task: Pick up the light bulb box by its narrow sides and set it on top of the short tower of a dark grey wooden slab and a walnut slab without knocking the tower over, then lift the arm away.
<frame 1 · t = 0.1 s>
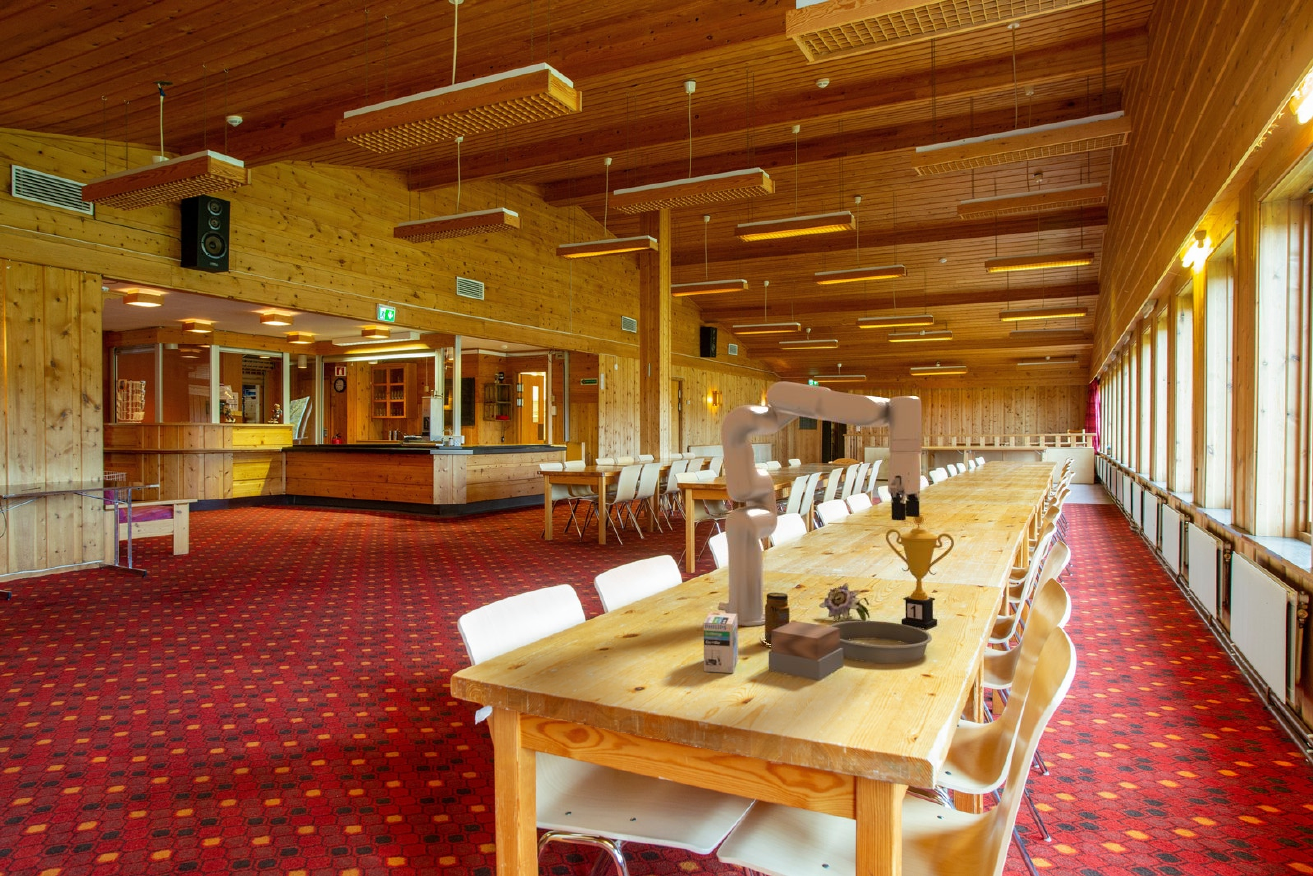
hand: (905, 518, 180), 31 cm above the table, tool pointing down, fingers open, 9 cm apart
grey block: (806, 670, 164), on the table
passion flower: (845, 619, 210), on the table
walnut block: (805, 649, 164), point 4 cm above the table
cake pan: (877, 651, 178), on the table
light bulb box: (721, 666, 166), on the table
condiment: (777, 644, 185), on the table
trophy: (919, 625, 202), on the table
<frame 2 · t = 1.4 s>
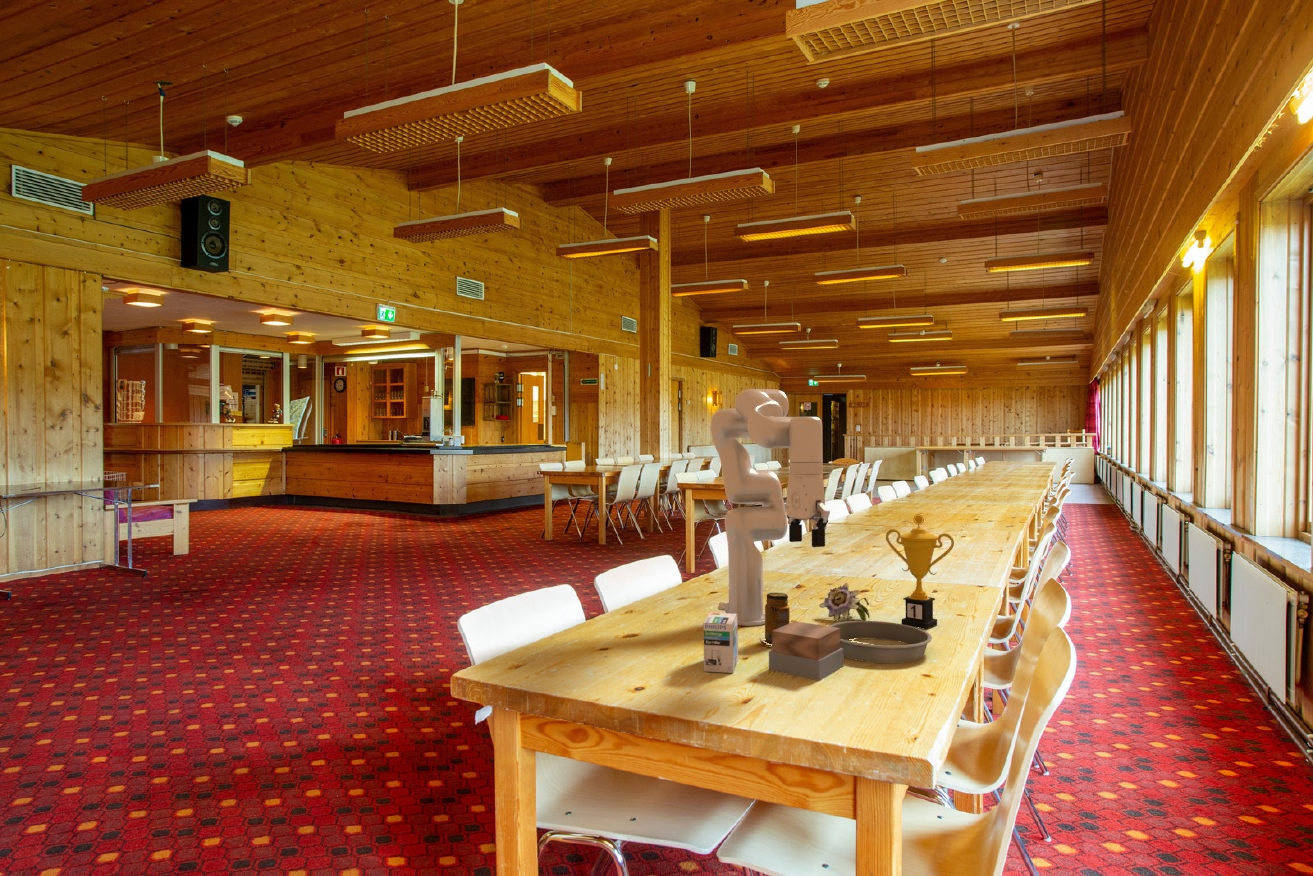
hand: (806, 544, 172), 26 cm above the table, tool pointing down, fingers open, 9 cm apart
grey block: (806, 670, 164), on the table, touching walnut block
walnut block: (806, 650, 164), point 4 cm above the table, touching grey block
everything else where it was.
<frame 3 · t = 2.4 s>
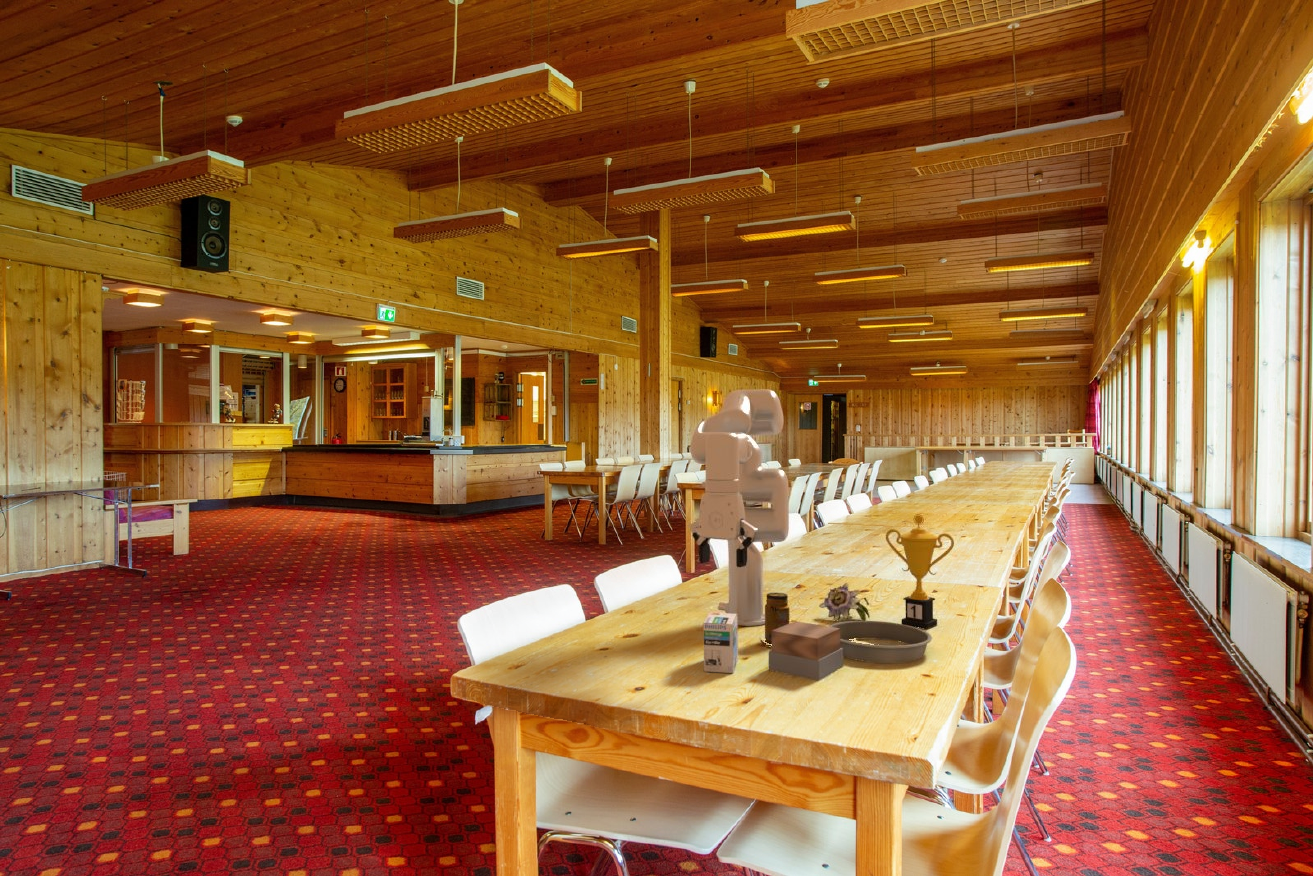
hand: (722, 564, 167), 23 cm above the table, tool pointing down, fingers open, 9 cm apart
nothing on the table moved.
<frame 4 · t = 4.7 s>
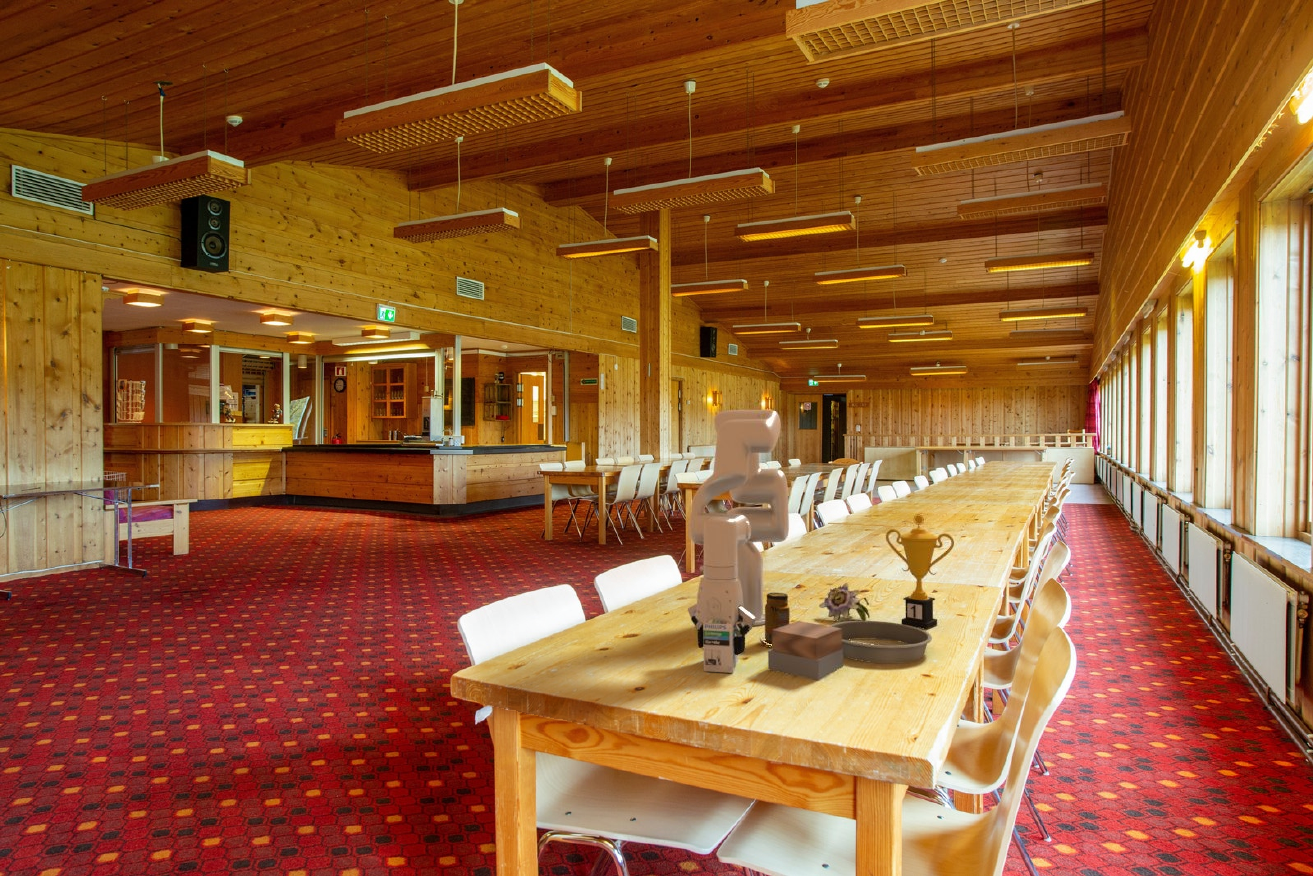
hand: (720, 650, 166), 4 cm above the table, tool pointing down, fingers closed on light bulb box, 9 cm apart
light bulb box: (721, 666, 166), on the table, touching gripper
everything else where it was.
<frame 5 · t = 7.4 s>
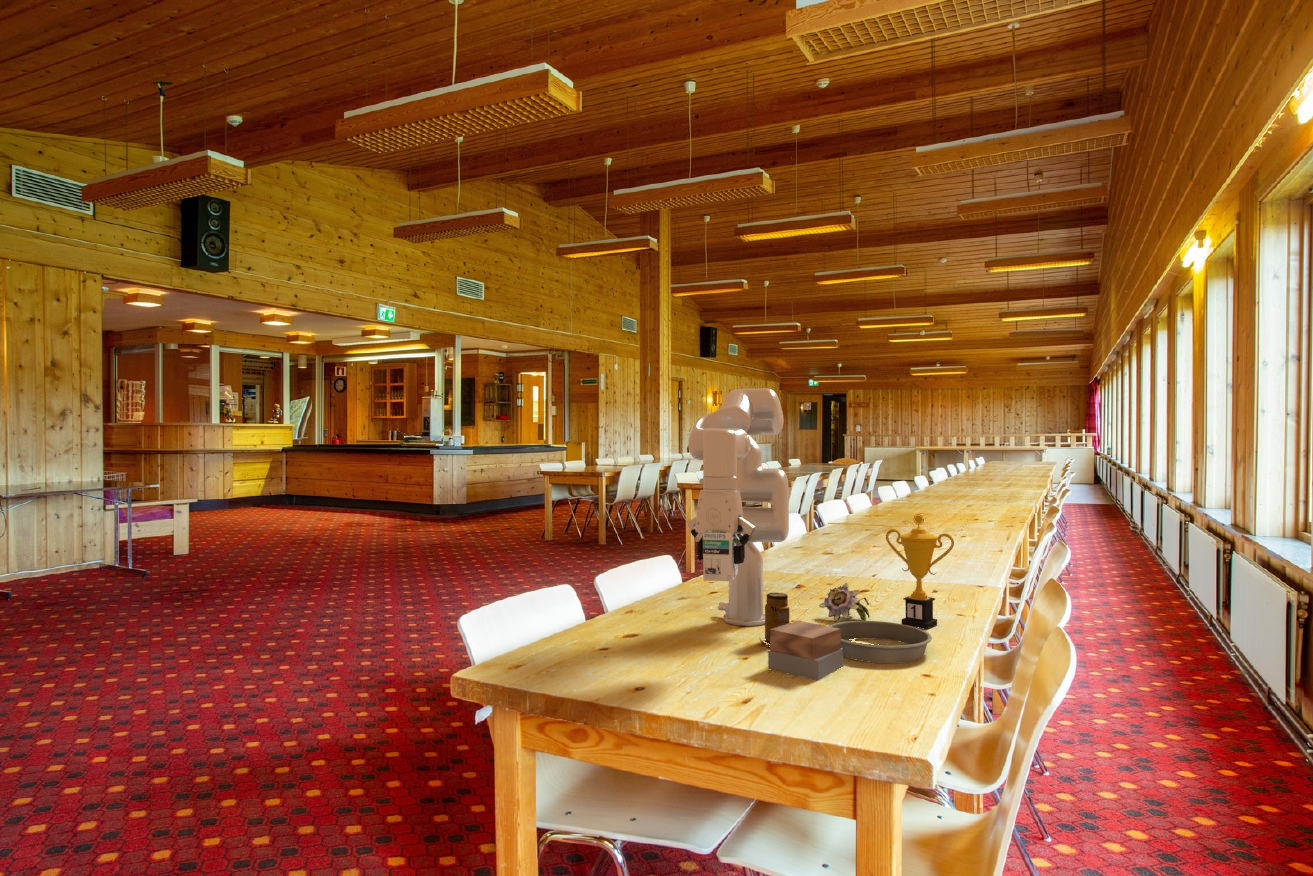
hand: (720, 561, 167), 23 cm above the table, tool pointing down, fingers closed on light bulb box, 9 cm apart
grey block: (805, 670, 164), on the table
walnut block: (805, 649, 165), point 4 cm above the table
light bulb box: (720, 577, 167), point 19 cm above the table, touching gripper
everything else where it was.
when the fingers open (14 cm above the table, at t = 11.1 s): light bulb box drops 2 cm, resting on walnut block.
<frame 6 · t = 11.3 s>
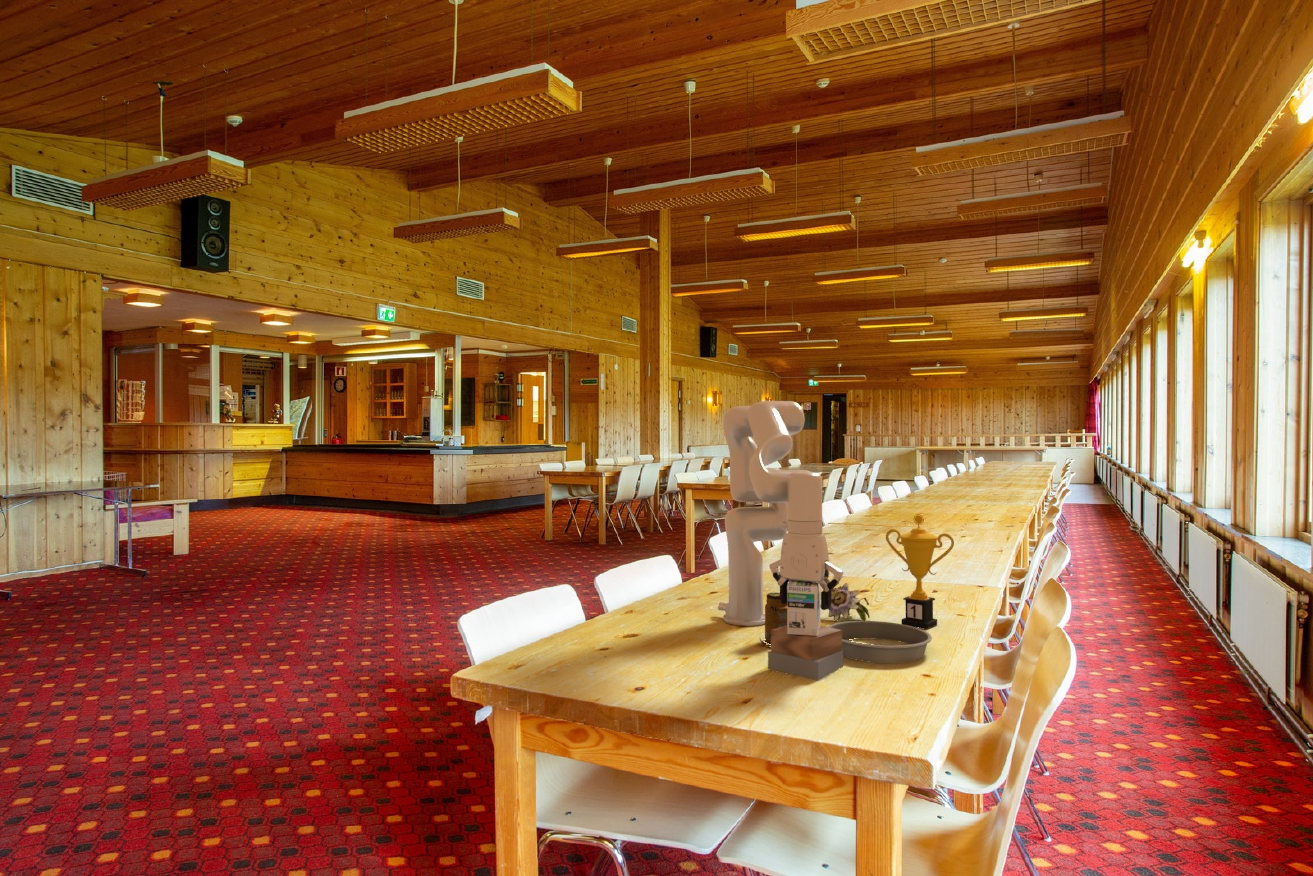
hand: (805, 605, 164), 14 cm above the table, tool pointing down, fingers open, 9 cm apart
grey block: (805, 671, 164), on the table, touching walnut block
walnut block: (806, 650, 165), point 4 cm above the table, touching grey block, light bulb box
light bulb box: (804, 630, 165), point 8 cm above the table, touching gripper, walnut block
everything else where it was.
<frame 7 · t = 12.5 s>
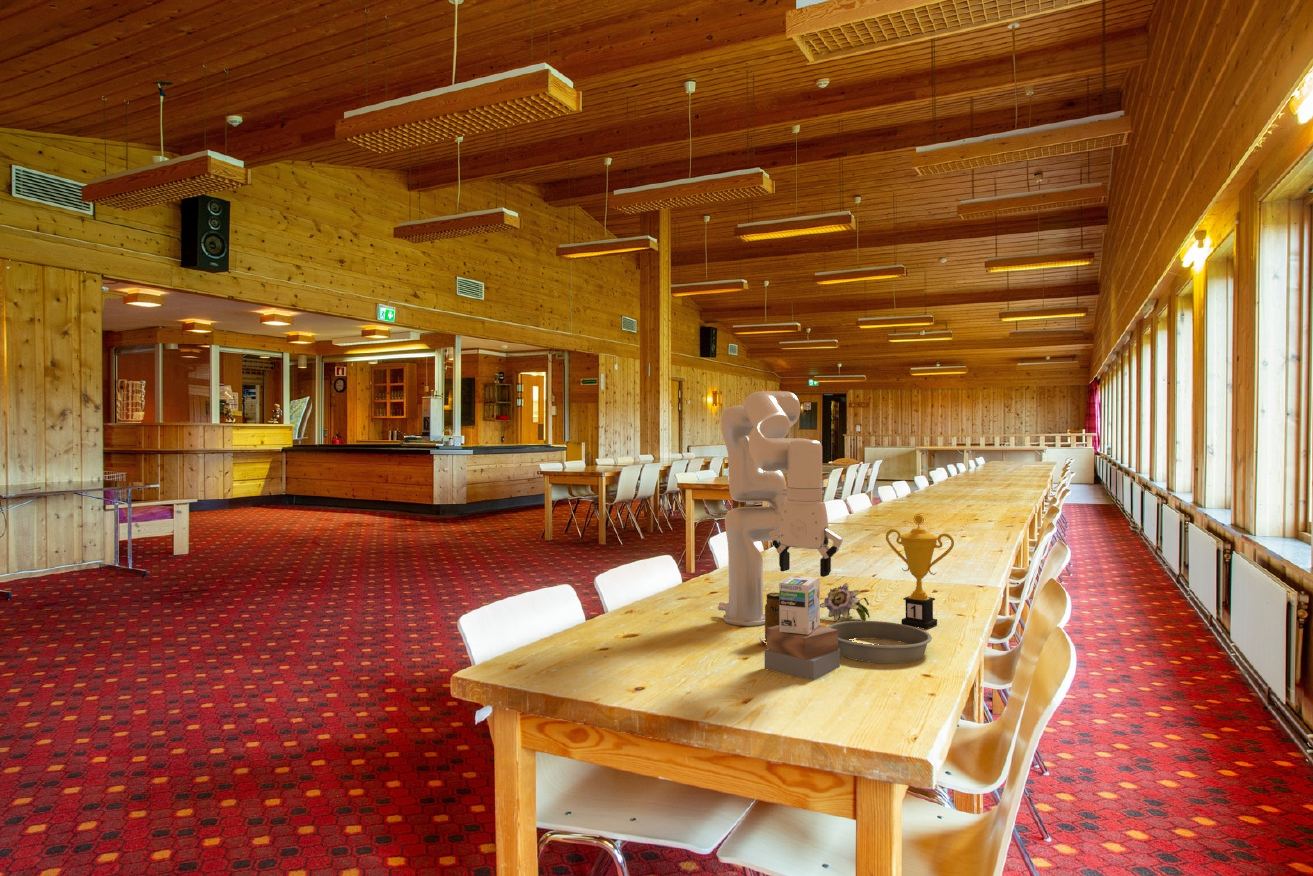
hand: (804, 573, 165), 21 cm above the table, tool pointing down, fingers open, 9 cm apart
walnut block: (802, 649, 165), point 4 cm above the table, touching grey block
light bulb box: (799, 629, 165), point 8 cm above the table
everything else where it was.
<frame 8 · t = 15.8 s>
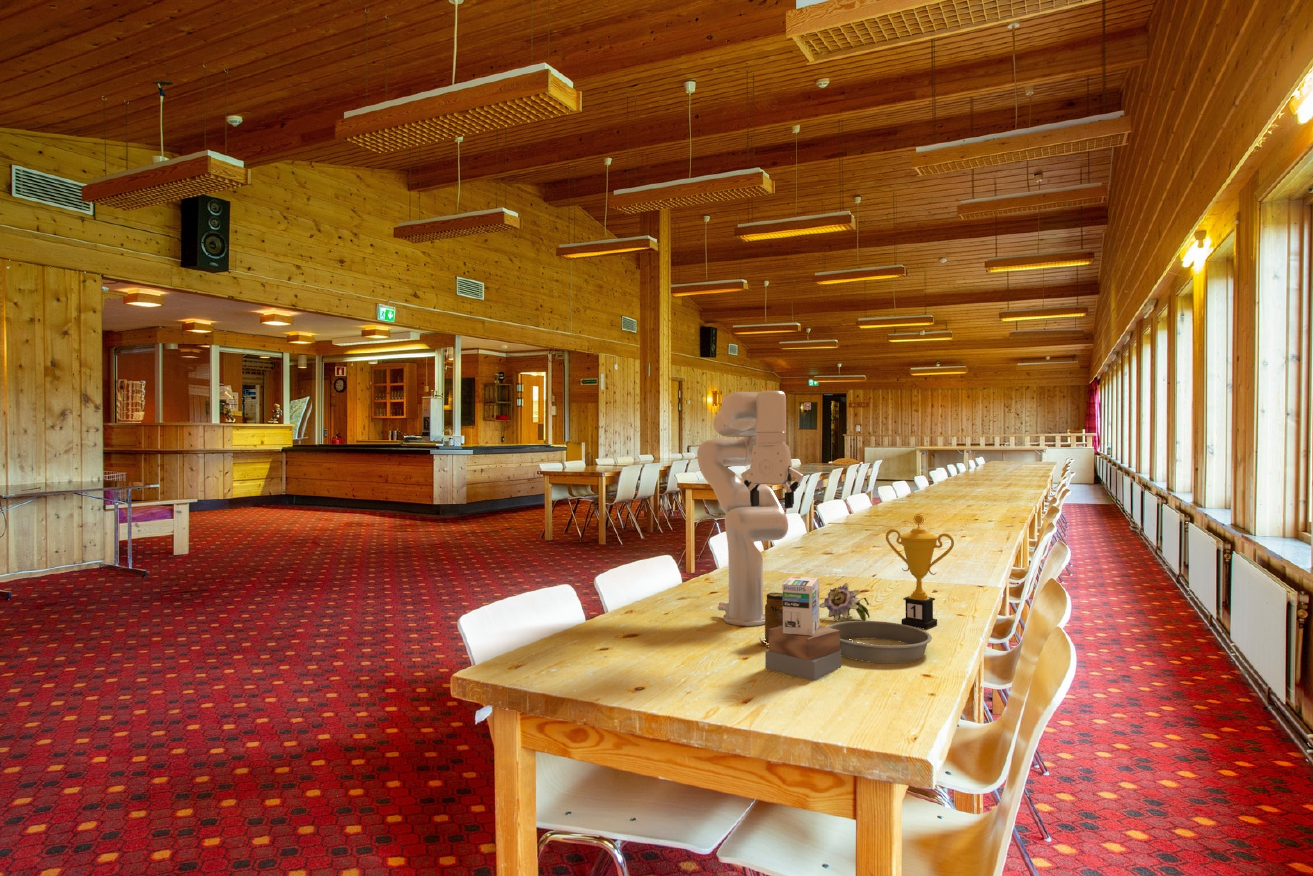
hand: (771, 507, 189), 33 cm above the table, tool pointing down, fingers open, 9 cm apart
grey block: (803, 671, 164), on the table
walnut block: (804, 650, 164), point 4 cm above the table, touching light bulb box
light bulb box: (801, 630, 165), point 8 cm above the table, touching walnut block
everything else where it was.
at the end: light bulb box 0.8 cm off-centre on the grey block, point 8.8 cm above the grey block's base; walnut block 0.3 cm off-centre on the grey block, point 4.5 cm above the grey block's base; light bulb box tilted 0° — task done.
